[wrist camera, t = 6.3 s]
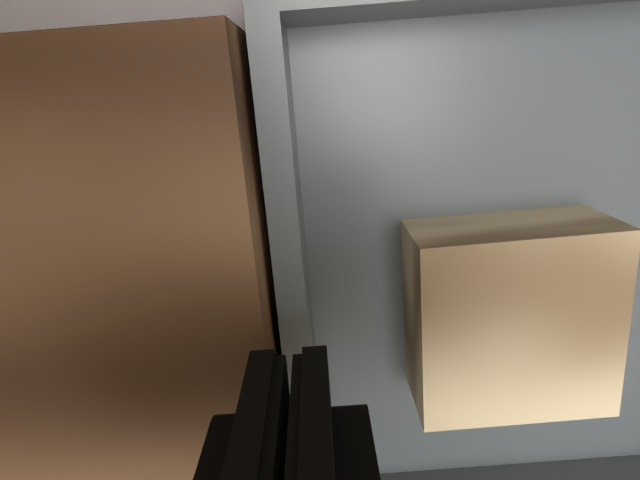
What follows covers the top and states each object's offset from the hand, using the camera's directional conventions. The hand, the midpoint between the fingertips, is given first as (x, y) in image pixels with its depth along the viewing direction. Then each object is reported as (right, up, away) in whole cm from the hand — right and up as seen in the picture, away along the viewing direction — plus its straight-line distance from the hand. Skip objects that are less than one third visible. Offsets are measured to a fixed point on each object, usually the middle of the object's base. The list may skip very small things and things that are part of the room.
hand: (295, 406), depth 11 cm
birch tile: (+6, +1, +3) cm, 7 cm away
